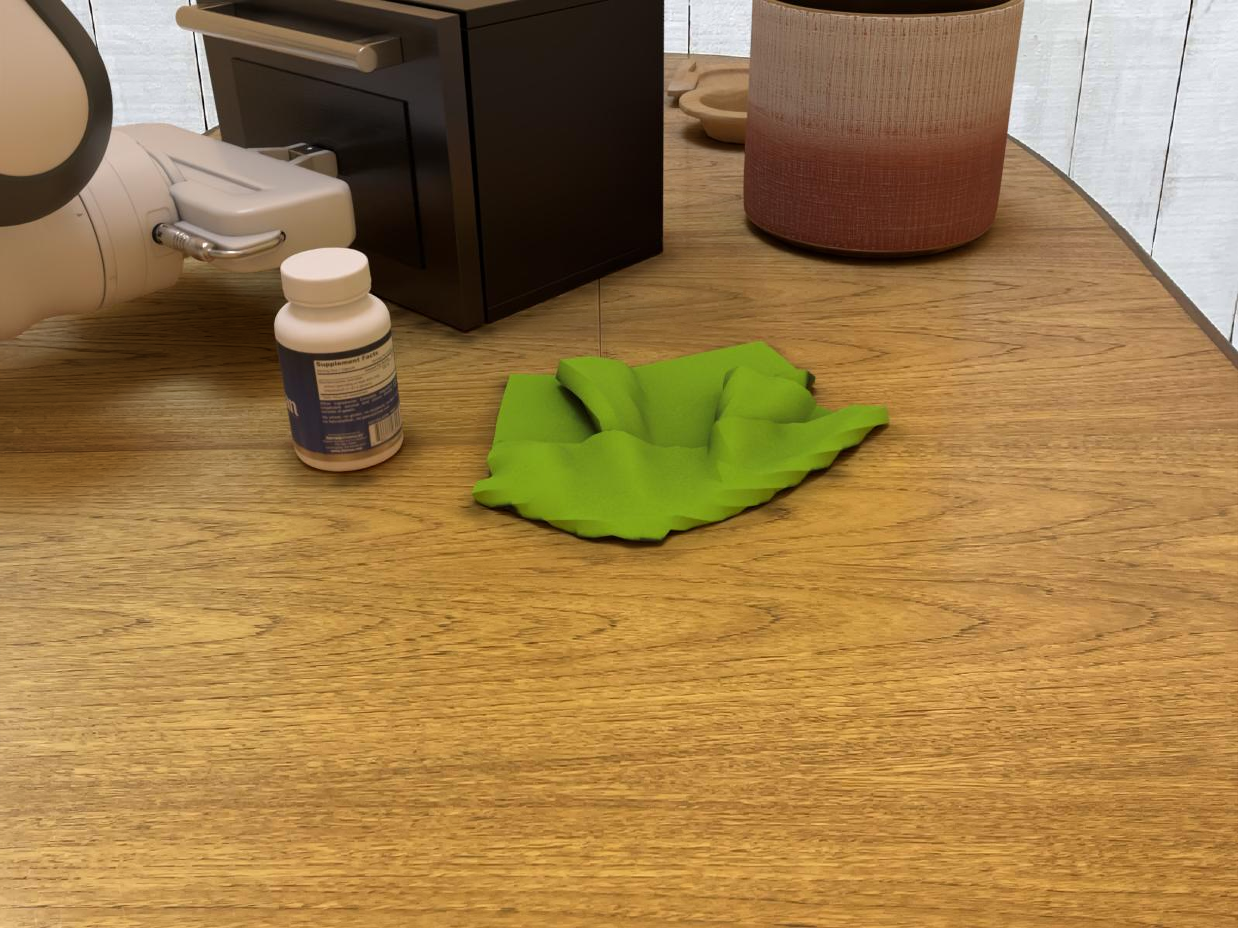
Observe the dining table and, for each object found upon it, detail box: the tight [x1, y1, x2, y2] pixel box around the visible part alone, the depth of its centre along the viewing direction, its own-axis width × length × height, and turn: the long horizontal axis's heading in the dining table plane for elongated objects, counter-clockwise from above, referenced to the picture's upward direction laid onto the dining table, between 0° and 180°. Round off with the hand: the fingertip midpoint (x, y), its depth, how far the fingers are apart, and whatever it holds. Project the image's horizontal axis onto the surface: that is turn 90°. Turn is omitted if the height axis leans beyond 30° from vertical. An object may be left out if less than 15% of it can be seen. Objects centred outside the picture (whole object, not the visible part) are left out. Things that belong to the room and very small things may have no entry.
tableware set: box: [666, 58, 750, 145], centre depth 116 cm, size 35×29×4 cm
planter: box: [742, 0, 1026, 259], centre depth 86 cm, size 18×18×16 cm
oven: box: [382, 0, 665, 324], centre depth 83 cm, size 16×24×18 cm, turn 47°
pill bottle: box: [273, 248, 404, 472], centre depth 60 cm, size 5×5×10 cm
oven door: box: [174, 0, 486, 331], centre depth 76 cm, size 5×24×18 cm, turn 47°
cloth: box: [470, 340, 890, 542], centre depth 63 cm, size 20×22×2 cm
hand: (323, 159), depth 77 cm, fingers closed, pressing on oven door
